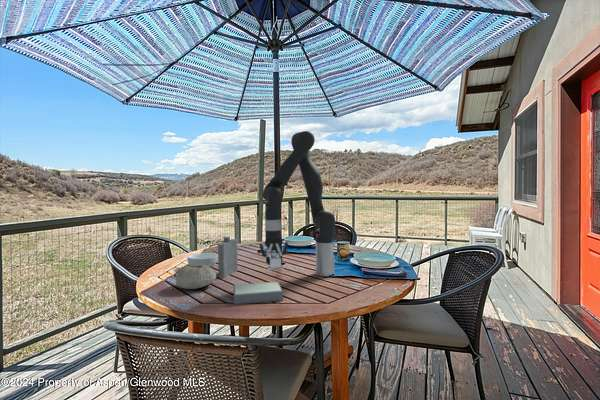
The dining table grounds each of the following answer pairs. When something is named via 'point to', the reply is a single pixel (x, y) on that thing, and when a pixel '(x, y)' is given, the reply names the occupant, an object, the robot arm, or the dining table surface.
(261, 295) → the stand
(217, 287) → the dining table surface
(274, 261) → the housing
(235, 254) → the hip flask
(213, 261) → the cereal bowl
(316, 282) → the dining table surface
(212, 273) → the beige squat rounded piece
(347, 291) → the dining table surface
